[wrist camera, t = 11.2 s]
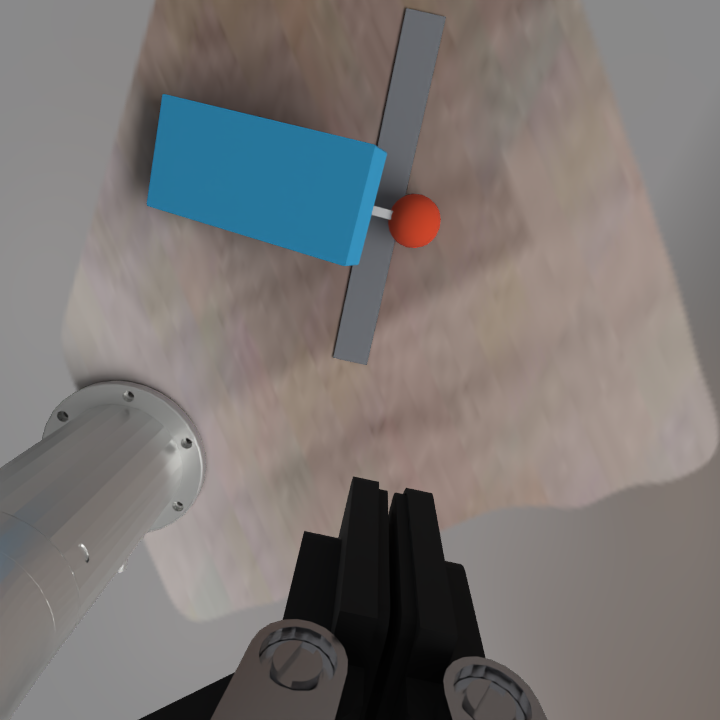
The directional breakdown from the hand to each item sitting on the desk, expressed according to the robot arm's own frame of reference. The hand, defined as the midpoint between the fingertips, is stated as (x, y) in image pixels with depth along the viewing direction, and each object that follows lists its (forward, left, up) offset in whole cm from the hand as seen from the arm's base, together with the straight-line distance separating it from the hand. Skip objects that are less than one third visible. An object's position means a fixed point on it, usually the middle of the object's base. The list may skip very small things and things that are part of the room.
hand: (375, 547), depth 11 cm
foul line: (+7, +2, -29) cm, 30 cm away
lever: (+7, +7, -29) cm, 30 cm away
